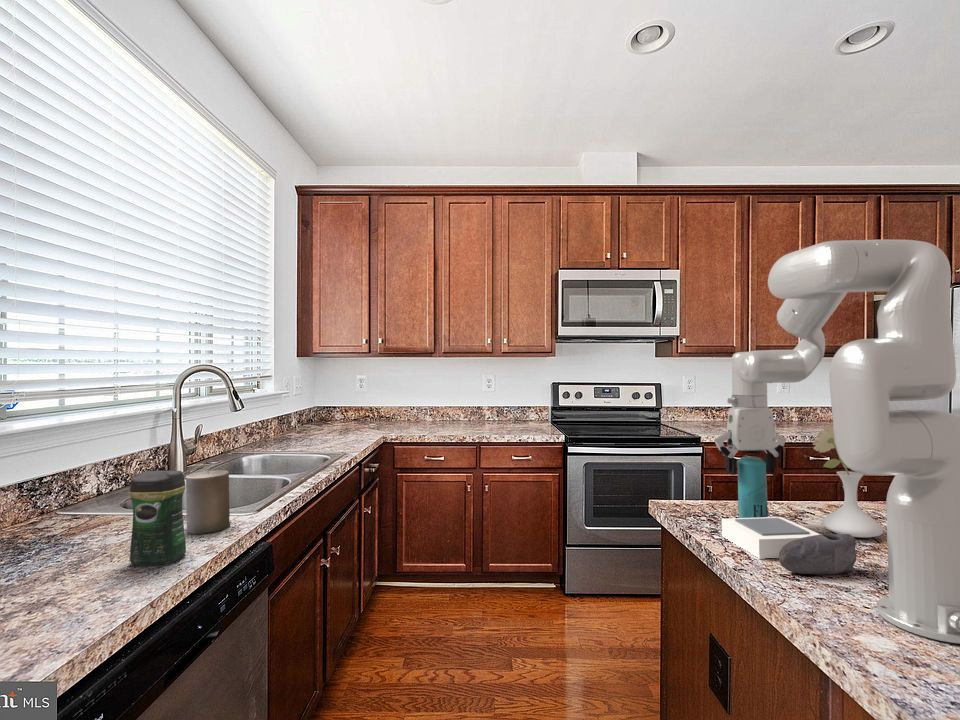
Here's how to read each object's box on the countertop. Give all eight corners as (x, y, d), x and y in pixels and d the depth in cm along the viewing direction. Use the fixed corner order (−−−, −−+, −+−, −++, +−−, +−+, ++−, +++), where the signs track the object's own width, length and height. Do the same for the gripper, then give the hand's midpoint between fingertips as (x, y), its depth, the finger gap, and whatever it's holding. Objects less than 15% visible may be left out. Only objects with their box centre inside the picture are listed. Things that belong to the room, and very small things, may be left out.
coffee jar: (192, 552, 109) (192, 466, 109) (169, 567, 101) (169, 474, 101) (148, 553, 109) (148, 467, 109) (121, 567, 101) (121, 475, 101)
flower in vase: (861, 526, 119) (858, 421, 120) (896, 542, 108) (893, 427, 108) (804, 525, 120) (801, 421, 121) (832, 541, 109) (829, 427, 110)
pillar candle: (238, 523, 129) (237, 465, 130) (209, 535, 120) (208, 472, 120) (207, 522, 132) (206, 464, 132) (176, 533, 122) (175, 472, 123)
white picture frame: (826, 557, 100) (826, 535, 101) (759, 559, 100) (758, 537, 100) (781, 534, 114) (781, 515, 115) (722, 536, 114) (721, 516, 114)
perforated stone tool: (787, 579, 90) (786, 540, 91) (770, 568, 96) (769, 531, 96) (869, 577, 91) (868, 539, 91) (847, 566, 96) (846, 530, 96)
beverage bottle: (753, 532, 116) (750, 446, 117) (731, 524, 123) (729, 442, 123) (775, 529, 118) (773, 444, 118) (753, 521, 124) (751, 441, 125)
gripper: (723, 404, 117) (724, 477, 117) (794, 403, 118) (795, 475, 118) (707, 401, 124) (708, 470, 124) (774, 400, 125) (775, 468, 125)
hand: (750, 473), depth 121 cm, fingers open, 9 cm apart
